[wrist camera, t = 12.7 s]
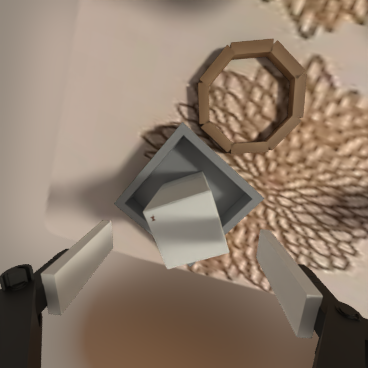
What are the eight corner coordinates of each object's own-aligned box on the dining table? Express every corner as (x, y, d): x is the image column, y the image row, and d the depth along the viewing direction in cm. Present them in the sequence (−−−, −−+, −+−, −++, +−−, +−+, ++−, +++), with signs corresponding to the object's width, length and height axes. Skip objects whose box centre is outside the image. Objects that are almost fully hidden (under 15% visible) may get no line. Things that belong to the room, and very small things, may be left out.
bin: (123, 196, 32) (113, 203, 28) (184, 125, 29) (182, 122, 25) (190, 252, 34) (190, 266, 30) (255, 191, 30) (264, 198, 26)
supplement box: (176, 222, 32) (164, 271, 19) (162, 183, 30) (139, 210, 18) (216, 210, 31) (231, 255, 18) (203, 169, 29) (210, 188, 17)
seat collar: (178, 107, 28) (177, 105, 27) (249, 21, 25) (252, 13, 24) (246, 171, 30) (249, 172, 28) (320, 97, 27) (327, 94, 25)
